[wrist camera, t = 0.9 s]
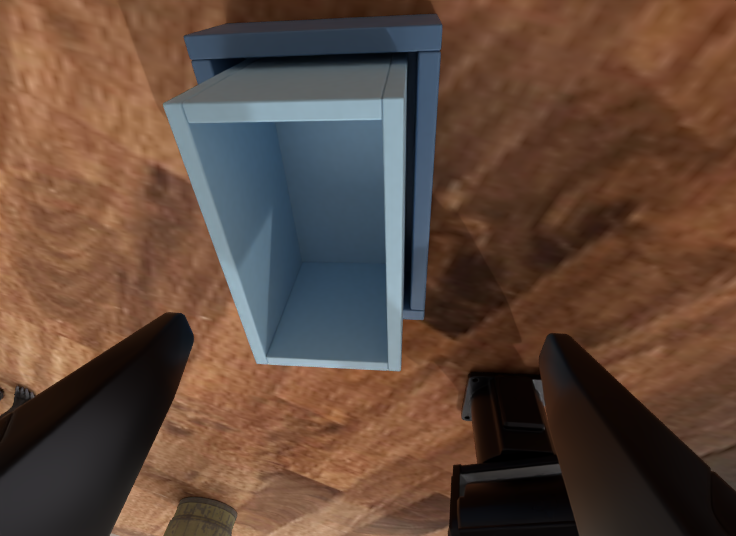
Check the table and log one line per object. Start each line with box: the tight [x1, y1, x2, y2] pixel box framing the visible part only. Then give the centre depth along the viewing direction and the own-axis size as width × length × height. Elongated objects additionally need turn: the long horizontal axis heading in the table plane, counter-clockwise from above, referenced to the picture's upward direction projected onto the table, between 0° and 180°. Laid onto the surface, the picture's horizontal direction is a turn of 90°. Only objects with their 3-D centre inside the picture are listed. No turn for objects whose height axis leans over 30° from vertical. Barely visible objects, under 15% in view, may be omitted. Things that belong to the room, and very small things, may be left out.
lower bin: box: [184, 14, 442, 320], centre depth 19 cm, size 14×9×4 cm, turn 3°
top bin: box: [163, 52, 408, 371], centre depth 17 cm, size 12×7×8 cm, turn 3°
